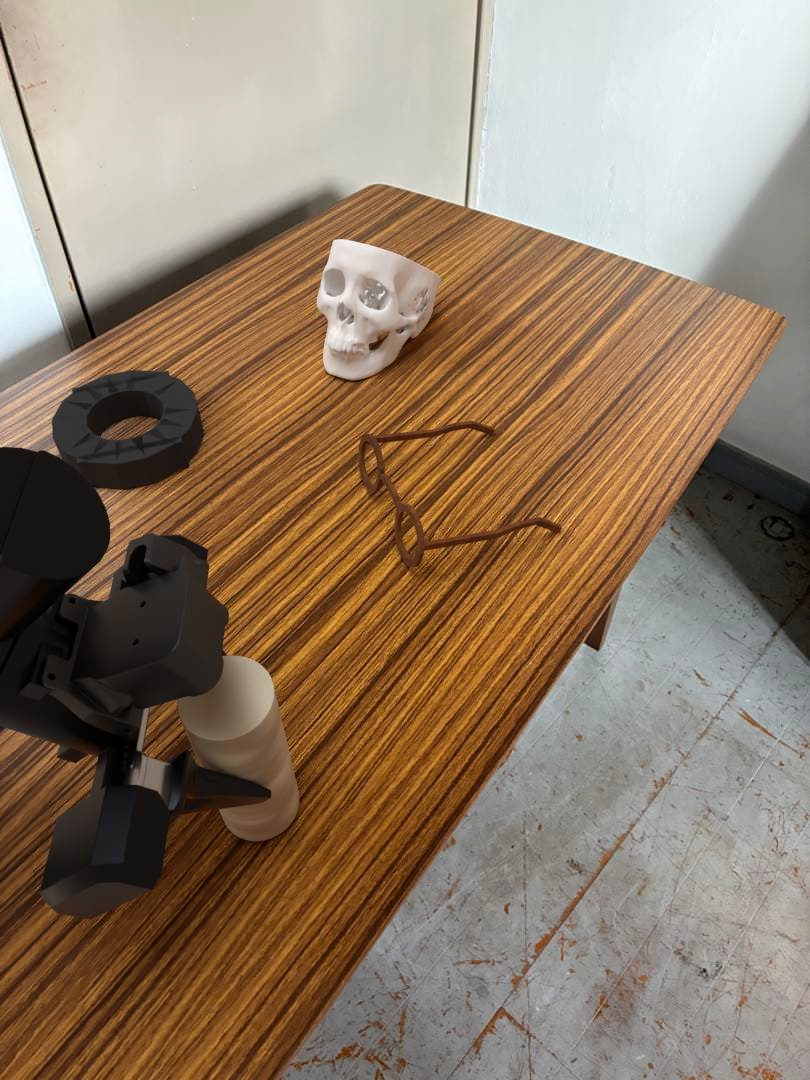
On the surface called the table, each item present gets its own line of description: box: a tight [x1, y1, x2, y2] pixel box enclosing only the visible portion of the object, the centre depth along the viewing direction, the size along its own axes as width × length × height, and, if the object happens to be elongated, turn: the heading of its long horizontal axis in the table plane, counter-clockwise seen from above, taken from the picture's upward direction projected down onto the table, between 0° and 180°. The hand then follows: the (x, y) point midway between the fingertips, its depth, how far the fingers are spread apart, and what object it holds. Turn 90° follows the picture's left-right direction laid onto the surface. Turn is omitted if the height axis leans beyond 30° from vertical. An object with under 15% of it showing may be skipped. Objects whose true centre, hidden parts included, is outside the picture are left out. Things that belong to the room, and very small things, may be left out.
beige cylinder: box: [176, 654, 300, 842], centre depth 45 cm, size 5×5×13 cm
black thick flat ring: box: [51, 369, 205, 490], centre depth 71 cm, size 12×12×3 cm
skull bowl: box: [316, 238, 442, 381], centre depth 80 cm, size 10×14×12 cm
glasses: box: [357, 420, 563, 569], centre depth 66 cm, size 13×13×5 cm
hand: (269, 753), depth 45 cm, fingers closed on beige cylinder, 5 cm apart
